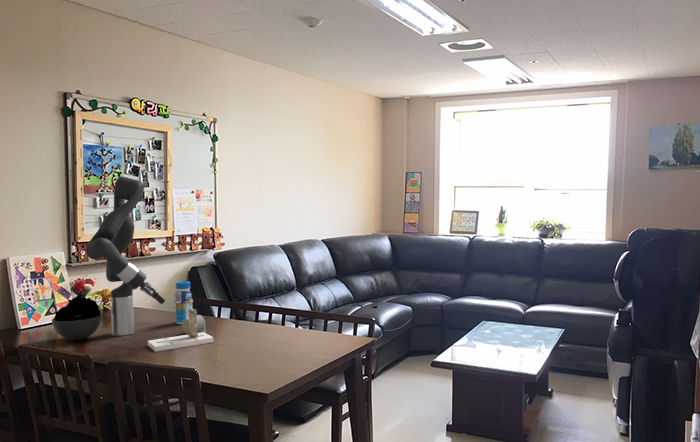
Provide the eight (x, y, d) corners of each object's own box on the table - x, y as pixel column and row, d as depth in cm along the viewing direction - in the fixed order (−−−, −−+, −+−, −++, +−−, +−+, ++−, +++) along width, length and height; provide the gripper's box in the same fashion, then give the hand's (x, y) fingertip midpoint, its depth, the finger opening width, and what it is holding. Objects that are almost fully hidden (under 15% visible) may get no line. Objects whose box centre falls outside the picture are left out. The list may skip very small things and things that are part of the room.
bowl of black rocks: (83, 345, 245) (81, 301, 244) (42, 344, 249) (40, 300, 248) (112, 334, 264) (110, 293, 264) (73, 333, 268) (71, 292, 268)
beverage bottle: (174, 321, 288) (172, 281, 287) (191, 319, 291) (190, 280, 290) (177, 325, 280) (175, 283, 279) (194, 323, 284) (193, 282, 283)
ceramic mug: (181, 333, 263) (180, 316, 262) (197, 330, 269) (196, 313, 268) (194, 337, 255) (193, 320, 255) (210, 333, 261) (209, 317, 261)
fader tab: (192, 338, 243) (191, 310, 243) (187, 335, 249) (186, 308, 248) (199, 337, 245) (198, 310, 244) (194, 334, 250) (193, 307, 250)
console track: (155, 351, 232) (155, 346, 232) (147, 345, 243) (147, 340, 242) (213, 342, 245) (213, 337, 245) (204, 336, 255) (204, 331, 255)
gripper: (141, 270, 228) (174, 297, 235) (134, 266, 239) (165, 292, 246) (127, 285, 226) (161, 312, 233) (121, 280, 237) (152, 306, 244)
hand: (163, 302), depth 240 cm, fingers closed
